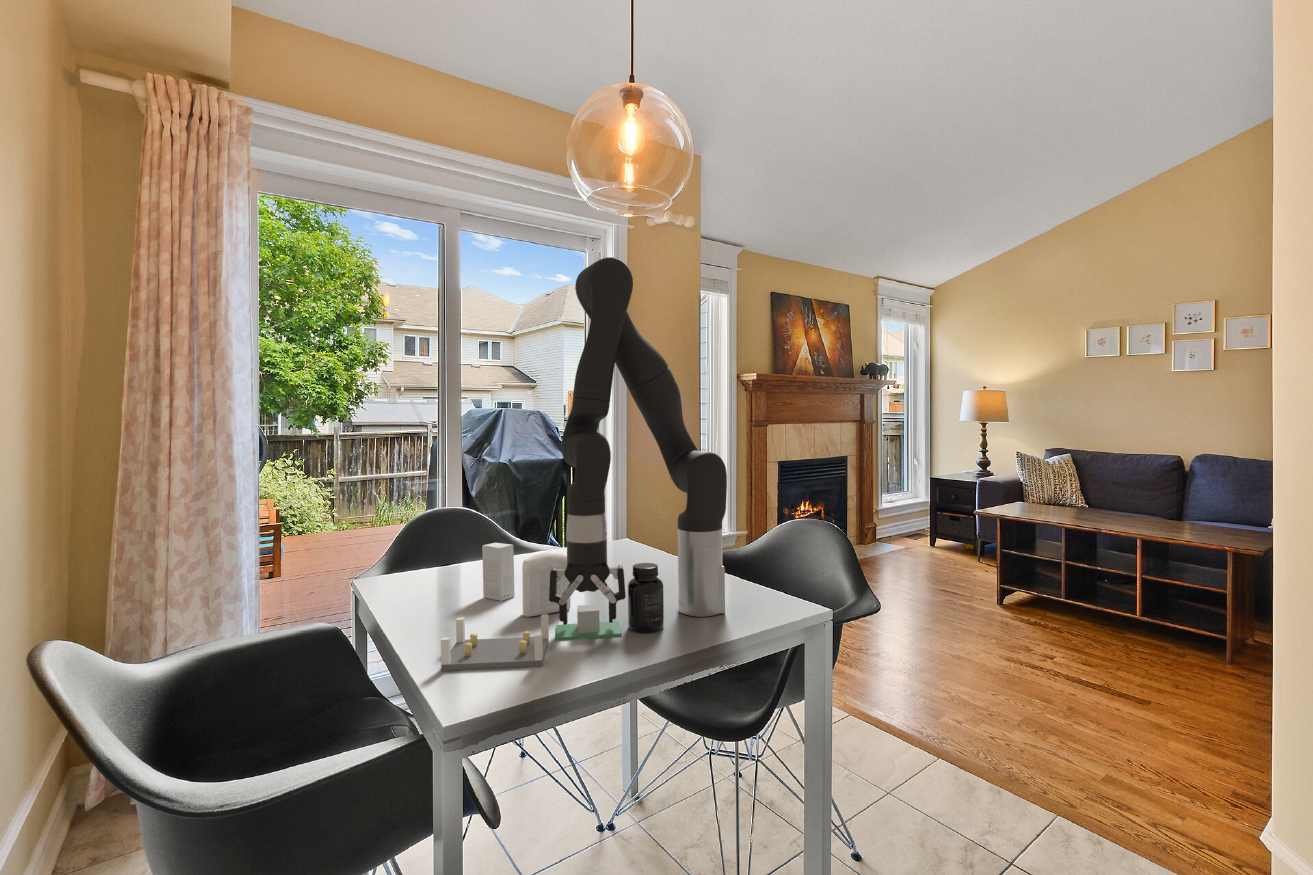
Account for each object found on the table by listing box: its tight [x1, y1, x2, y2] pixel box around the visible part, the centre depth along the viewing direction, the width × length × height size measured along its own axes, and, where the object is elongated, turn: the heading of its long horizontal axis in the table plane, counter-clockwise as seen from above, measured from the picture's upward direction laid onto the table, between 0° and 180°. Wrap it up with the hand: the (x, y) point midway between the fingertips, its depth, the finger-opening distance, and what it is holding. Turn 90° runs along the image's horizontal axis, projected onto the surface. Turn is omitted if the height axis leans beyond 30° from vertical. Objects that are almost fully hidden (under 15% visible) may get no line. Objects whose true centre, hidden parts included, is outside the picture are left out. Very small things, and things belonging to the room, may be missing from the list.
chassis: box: [440, 613, 550, 672], centre depth 103 cm, size 16×11×5 cm
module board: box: [555, 603, 623, 642], centre depth 115 cm, size 12×7×5 cm, turn 99°
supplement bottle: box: [627, 562, 665, 634], centre depth 116 cm, size 7×7×12 cm
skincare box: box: [481, 542, 516, 602], centre depth 138 cm, size 6×4×12 cm
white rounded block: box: [521, 551, 571, 618], centre depth 127 cm, size 10×4×12 cm, turn 123°
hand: (588, 622), depth 115 cm, fingers open, 8 cm apart
